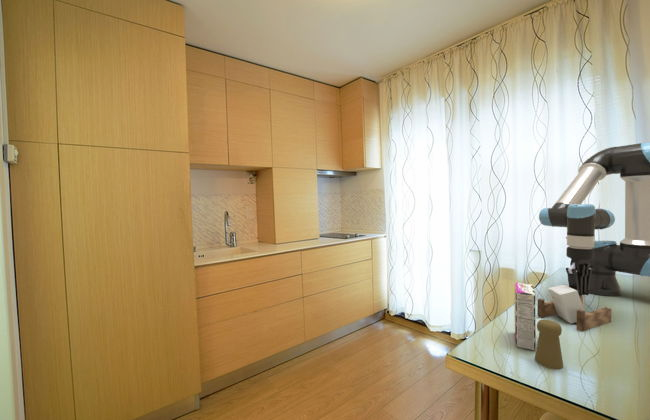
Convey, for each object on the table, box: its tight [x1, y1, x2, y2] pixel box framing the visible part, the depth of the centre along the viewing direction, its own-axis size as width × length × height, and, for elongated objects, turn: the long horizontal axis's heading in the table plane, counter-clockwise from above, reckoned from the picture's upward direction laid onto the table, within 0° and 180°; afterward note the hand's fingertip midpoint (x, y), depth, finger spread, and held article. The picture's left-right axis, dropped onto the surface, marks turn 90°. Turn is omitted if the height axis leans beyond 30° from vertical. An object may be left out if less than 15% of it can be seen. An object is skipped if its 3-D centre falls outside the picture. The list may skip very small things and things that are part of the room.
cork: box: [534, 319, 564, 370], centre depth 77 cm, size 6×6×11 cm
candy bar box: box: [514, 282, 537, 352], centre depth 88 cm, size 11×5×16 cm, turn 148°
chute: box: [536, 298, 612, 332], centre depth 104 cm, size 18×14×6 cm
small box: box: [547, 284, 586, 324], centre depth 104 cm, size 8×6×10 cm
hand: (579, 312), depth 106 cm, fingers closed
